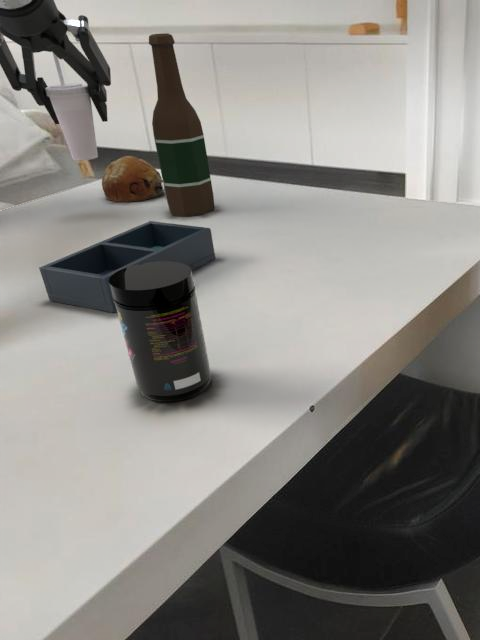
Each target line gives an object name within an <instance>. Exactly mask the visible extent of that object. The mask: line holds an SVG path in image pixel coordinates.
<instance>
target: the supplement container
mask: <svg viewBox="0 0 480 640" xmlns="http://www.w3.org/2000/svg"><path fill="white" fill-rule="evenodd" d="M109 285H110V288H111V292H112V296H113V301H114V303H115V305H116V309H117V311H116V313H117V316H118V320H119V323H120V328H121V332H122V335H123V338H124V342H125V346H126V350H127V353H128V358H129V361H130V365H131V368H132V372H133V376H134V379H135V380H134V381H135V384H136V386H137V390H138V391H139V393H140V394H141V395H142V396H143V397H145V398H147V399H148V400H151V401H154V402H158V403H175V402H180V401H181V402H182V401H185V400H188V399H189V400H190V399H191V398H195V397H196V396H198V395H200V394H201V393H203V392H204V391H205V390H206V389H207V388H208V387H209V385H210V383H211V380H212V371H211V366H210V362H209V361H210V360H209V357H208V350H207V345H206V340H205V335H204V331H203V330H204V329H203V325H202V320H201V315H200V314H201V313H200V309H199V305H198V298H197V294H196V285H195V281H194V276H193V271H192V270H191V268H190V267H189V266H188V265H186V264H183V263H178V262H169V261H160V262H149V263H142V264H138V265H133V266H130V267H127V268H124V269H122V270H119V271H117V272H116V273H114V274H113V275H112V276H111V277H110V278H109Z"/></svg>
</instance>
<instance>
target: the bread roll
mask: <svg viewBox="0 0 480 640" xmlns="http://www.w3.org/2000/svg"><path fill="white" fill-rule="evenodd" d="M101 188H102V191H103V194H104V195H105V197H106V198H107V199H109V200H110V201H112V202H120V203H121V202H123V203H129V202H140V201H147V200H150V199H154V198H156V197H158V196H161V194H162V193H163V190H164V185H163V179H162V175H161V172H160V171H158V170H157V169H156V168H155V166H153V165H151V163H149V162H147V161H146V160H144V159H142V158H138V157H137V156H134V155H125V156H122V157H120V158H118V159H117V160H113V161H112V162H110V163H109V164H108V165H107V166H106V168H105V170H104V172H103V175H102V179H101Z"/></svg>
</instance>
